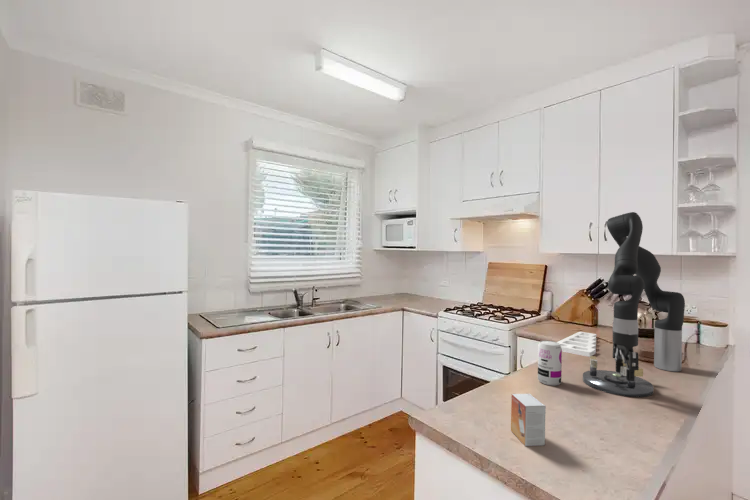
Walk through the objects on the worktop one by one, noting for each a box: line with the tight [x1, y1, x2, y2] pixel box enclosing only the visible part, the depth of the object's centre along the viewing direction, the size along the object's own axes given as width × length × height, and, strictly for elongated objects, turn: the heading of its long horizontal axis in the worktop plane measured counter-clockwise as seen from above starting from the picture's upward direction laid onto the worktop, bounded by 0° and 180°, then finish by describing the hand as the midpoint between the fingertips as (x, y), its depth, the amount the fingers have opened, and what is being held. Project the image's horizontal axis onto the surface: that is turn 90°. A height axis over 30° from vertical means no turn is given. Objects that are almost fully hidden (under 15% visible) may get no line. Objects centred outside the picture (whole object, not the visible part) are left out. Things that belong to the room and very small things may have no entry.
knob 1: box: [589, 355, 598, 376], centre depth 139 cm, size 6×2×7 cm, turn 152°
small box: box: [510, 393, 547, 447], centre depth 97 cm, size 8×6×10 cm
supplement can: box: [537, 340, 563, 387], centre depth 138 cm, size 8×8×15 cm
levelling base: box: [582, 369, 654, 398], centre depth 136 cm, size 22×22×4 cm
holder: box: [556, 331, 598, 358], centre depth 193 cm, size 45×18×3 cm, turn 134°
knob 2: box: [620, 366, 644, 388], centre depth 128 cm, size 6×2×7 cm, turn 85°
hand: (624, 376), depth 129 cm, fingers open, 8 cm apart
